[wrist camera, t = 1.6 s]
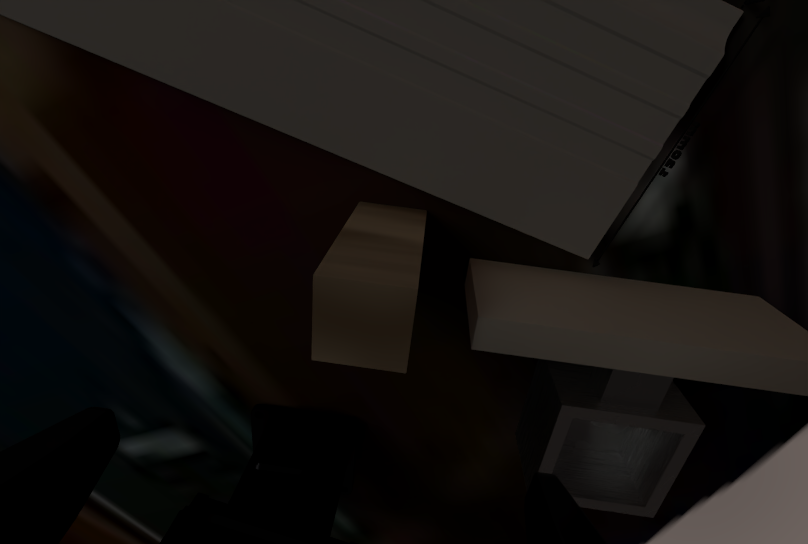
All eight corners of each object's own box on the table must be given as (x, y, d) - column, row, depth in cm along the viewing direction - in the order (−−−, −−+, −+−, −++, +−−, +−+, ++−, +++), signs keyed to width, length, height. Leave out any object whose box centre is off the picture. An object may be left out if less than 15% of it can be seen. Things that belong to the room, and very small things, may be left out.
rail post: (418, 271, 21) (406, 373, 14) (355, 262, 21) (311, 359, 14) (426, 210, 20) (417, 289, 13) (359, 201, 20) (313, 274, 13)
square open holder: (620, 448, 23) (653, 517, 20) (515, 433, 23) (528, 499, 20) (676, 328, 20) (728, 385, 16) (552, 311, 20) (577, 363, 16)
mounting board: (744, 322, 21) (837, 400, 16) (464, 285, 21) (471, 349, 16) (758, 296, 20) (860, 368, 15) (469, 257, 21) (478, 316, 16)
